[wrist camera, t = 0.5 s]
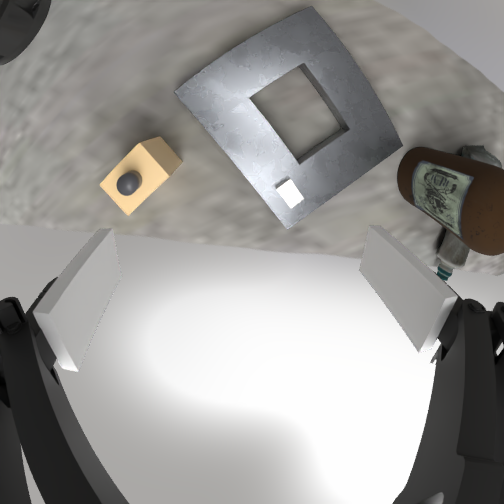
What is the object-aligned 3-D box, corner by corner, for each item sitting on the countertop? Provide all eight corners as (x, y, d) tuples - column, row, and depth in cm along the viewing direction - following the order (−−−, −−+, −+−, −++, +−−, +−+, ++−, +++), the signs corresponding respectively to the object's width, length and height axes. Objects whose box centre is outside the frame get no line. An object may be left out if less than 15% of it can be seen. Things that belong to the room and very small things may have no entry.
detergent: (455, 130, 33) (407, 263, 43) (487, 139, 26) (432, 285, 37) (487, 160, 36) (445, 271, 46) (514, 170, 30) (467, 290, 40)
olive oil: (444, 145, 34) (572, 197, 12) (438, 206, 39) (547, 283, 17) (394, 140, 33) (544, 194, 11) (390, 209, 38) (510, 305, 16)
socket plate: (177, 94, 28) (171, 91, 25) (306, 12, 24) (314, 3, 21) (283, 222, 38) (289, 232, 35) (393, 143, 34) (407, 146, 30)
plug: (127, 167, 32) (91, 190, 22) (160, 136, 31) (133, 144, 21) (149, 192, 34) (121, 223, 24) (182, 161, 33) (165, 181, 23)
